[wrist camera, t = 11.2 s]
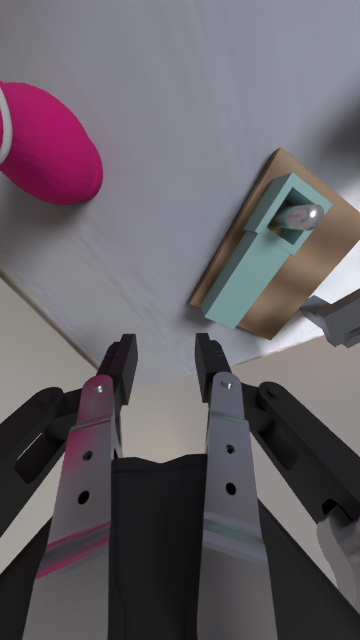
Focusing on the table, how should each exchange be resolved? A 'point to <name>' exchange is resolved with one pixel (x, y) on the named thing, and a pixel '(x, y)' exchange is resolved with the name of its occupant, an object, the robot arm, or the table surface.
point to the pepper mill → (46, 147)
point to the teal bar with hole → (259, 252)
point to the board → (297, 271)
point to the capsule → (298, 217)
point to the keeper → (336, 318)
